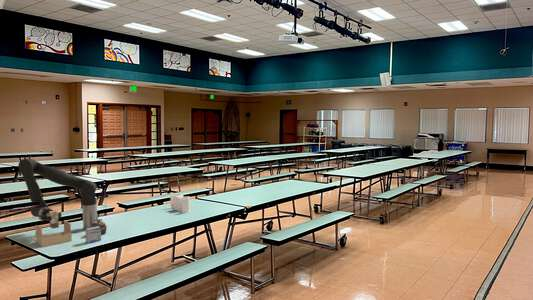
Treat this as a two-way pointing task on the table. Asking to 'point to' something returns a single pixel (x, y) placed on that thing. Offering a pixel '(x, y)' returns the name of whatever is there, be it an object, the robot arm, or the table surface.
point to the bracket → (180, 203)
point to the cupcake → (100, 225)
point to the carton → (53, 236)
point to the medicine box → (93, 234)
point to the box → (54, 219)
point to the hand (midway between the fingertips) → (54, 218)
